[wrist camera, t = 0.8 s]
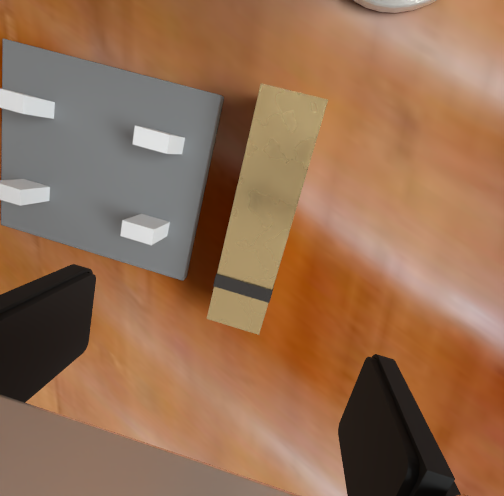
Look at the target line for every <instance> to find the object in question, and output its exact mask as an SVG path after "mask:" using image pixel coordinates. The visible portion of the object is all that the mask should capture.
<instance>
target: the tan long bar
mask: <svg viewBox="0 0 504 496" xmlns="http://www.w3.org/2000/svg"><path fill="white" fill-rule="evenodd" d="M327 102H328V100H327V99H323V98H319V97H315V96H311V95H307V94H303V93H298V92H294V91H290V90H286V89H282V88H278V87H274V86H270V85H266V84H261V85H260V90H259V94H258V98H257V103H256V107H255V111H254V116H253V120H252V124H251V129H250V133H249V137H248V142H247V146H246V150H245V155H244V159H243V163H242V168H241V172H240V176H239V181H238V185H237V190H236V194H235V198H234V203H233V207H232V211H231V216H230V220H229V224H228V229H227V233H226V237H225V242H224V246H223V250H222V255H221V259H220V263H219V268H218V272H217V274H216V277H215V281H214V289H213V294H212V298H211V302H210V307H209V311H208V315H207V319H209V320H213V321H216V322H219V323H222V324H226V325H229V326H232V327H235V328H239V329H242V330H245V331H248V332H252V333H255V334H258V335H259V333H260V330H261V326H262V323H263V320H264V316H265V313H266V309H267V306H268V303H269V301H270V298H271V295H272V291H273V287H274V282H275V279H276V275H277V272H278V268H279V265H280V262H281V258H282V255H283V251H284V248H285V245H286V241H287V238H288V234H289V231H290V228H291V224H292V221H293V217H294V214H295V211H296V207H297V204H298V200H299V197H300V194H301V190H302V187H303V183H304V180H305V177H306V173H307V170H308V166H309V163H310V160H311V156H312V153H313V149H314V146H315V143H316V139H317V136H318V132H319V129H320V126H321V122H322V119H323V115H324V112H325V109H326V105H327Z"/></svg>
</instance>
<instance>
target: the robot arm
mask: <svg viewBox="0 0 504 496" xmlns="http://www.w3.org/2000/svg"><path fill="white" fill-rule="evenodd" d="M353 1H355V2H356V3H358V4H360V5H362V6H364V7H365V8H369V9H372V10H376V11H379V12H391V13H398V12H405V11H412V10H415V9H418V8H421V7H424V6H426V5H429V4H431V3H433V2H435V1H436V0H353ZM95 283H96V277H95V275H94V274H93V273H92V270H91V269H88V268H85V267H82V266H78V265H75V264H73V265H70V266H67V267H65V268H63V269H60V270H58V271H56V272H53V273H51V274H49V275H46V276H44V277H41V278H39V279H37V280H34V281H32V282H30V283H27V284H25V285H23V286H20V287H18V288H15V289H13V290H11V291H8V292H6V293H4V294H1V295H0V496H300V495H297V494H294V493H291V492H288V491H285V490H282V489H279V488H277V487H274V486H271V485H268V484H265V483H262V482H259V481H256V480H253V479H250V478H247V477H245V476H242V475H239V474H236V473H233V472H230V471H227V470H224V469H221V468H218V467H215V466H213V465H210V464H207V463H204V462H201V461H198V460H195V459H192V458H189V457H186V456H183V455H180V454H177V453H174V452H171V451H168V450H165V449H162V448H159V447H156V446H153V445H150V444H148V443H145V442H142V441H139V440H136V439H133V438H130V437H127V436H124V435H121V434H118V433H115V432H112V431H109V430H106V429H103V428H100V427H97V426H94V425H91V424H88V423H85V422H82V421H79V420H76V419H73V418H70V417H67V416H64V415H61V414H57V413H54V412H51V411H48V410H45V409H42V408H39V407H36V406H33V405H30V404H27V403H25V402H26V401H27V400H29V399H30V398H31V397H32V396H33V395H34V394H36V393H37V392H38V391H39V390H40V389H41V388H43V387H44V386H45V385H46V384H47V383H48V382H50V381H51V380H52V379H53V378H54V377H55V376H57V375H58V374H59V373H60V372H61V371H62V370H64V369H65V368H66V367H67V366H68V365H69V364H71V363H72V362H73V361H74V360H75V359H76V358H78V357H79V356H80V355H81V354H82V353H83V352H84V351H85V350H86V348H87V345H88V342H89V334H90V325H91V317H92V308H93V300H94V291H95ZM338 436H339V442H340V449H341V455H342V462H343V468H344V475H345V481H346V488H347V494H348V496H468V495H461V494H460V492H459V490H458V488H457V486H456V484H455V482H454V480H455V478H454V476H453V474H452V472H451V470H450V468H449V466H448V464H447V462H446V460H445V458H444V456H443V454H442V452H441V450H440V448H439V447H438V445H437V443H436V441H435V439H434V437H433V435H432V433H431V431H430V429H429V427H428V425H427V423H426V421H425V419H424V417H423V415H422V413H421V411H420V409H419V407H418V405H417V403H416V401H415V399H414V397H413V395H412V393H411V391H410V389H409V388H408V386H407V384H406V382H405V380H404V378H403V376H402V374H401V372H400V370H399V368H398V366H397V364H396V362H395V361H394V360H393V359H390V358H387V357H384V356H380V355H377V354H375V355H373V356H372V358H371V357H367V358H366V360H365V362H364V364H363V367H362V369H361V371H360V374H359V376H358V379H357V381H356V384H355V386H354V389H353V391H352V394H351V396H350V398H349V401H348V403H347V406H346V408H345V411H344V413H343V416H342V418H341V421H340V423H339V429H338Z"/></svg>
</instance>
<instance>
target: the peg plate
mask: <svg viewBox="0 0 504 496" xmlns="http://www.w3.org/2000/svg"><path fill="white" fill-rule="evenodd" d="M223 100H224V97H223V96H221V95H218V94H214V93H210V92H206V91H203V90H199V89H195V88H191V87H187V86H183V85H180V84H176V83H172V82H168V81H164V80H160V79H157V78H153V77H149V76H145V75H141V74H137V73H134V72H130V71H126V70H122V69H118V68H114V67H110V66H107V65H103V64H99V63H95V62H91V61H87V60H84V59H80V58H76V57H72V56H68V55H64V54H61V53H57V52H53V51H49V50H45V49H41V48H38V47H34V46H30V45H26V44H22V43H18V42H14V41H11V40H7V39H3V63H2V89H1V88H0V108H2V172H1V180H0V200H1V225H4V226H7V227H10V228H14V229H17V230H20V231H23V232H27V233H30V234H33V235H36V236H40V237H43V238H46V239H49V240H53V241H56V242H59V243H62V244H66V245H69V246H72V247H75V248H79V249H82V250H85V251H88V252H92V253H95V254H98V255H101V256H104V257H108V258H111V259H114V260H117V261H121V262H124V263H127V264H130V265H134V266H137V267H140V268H143V269H147V270H150V271H153V272H156V273H160V274H163V275H166V276H169V277H173V278H176V279H179V280H182V281H183V280H184V279H185V278H186V277H187V273H188V268H189V263H190V258H191V253H192V249H193V244H194V239H195V234H196V229H197V225H198V220H199V215H200V210H201V206H202V201H203V196H204V191H205V186H206V182H207V177H208V172H209V167H210V162H211V158H212V153H213V148H214V143H215V139H216V134H217V129H218V124H219V119H220V115H221V110H222V105H223Z"/></svg>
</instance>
